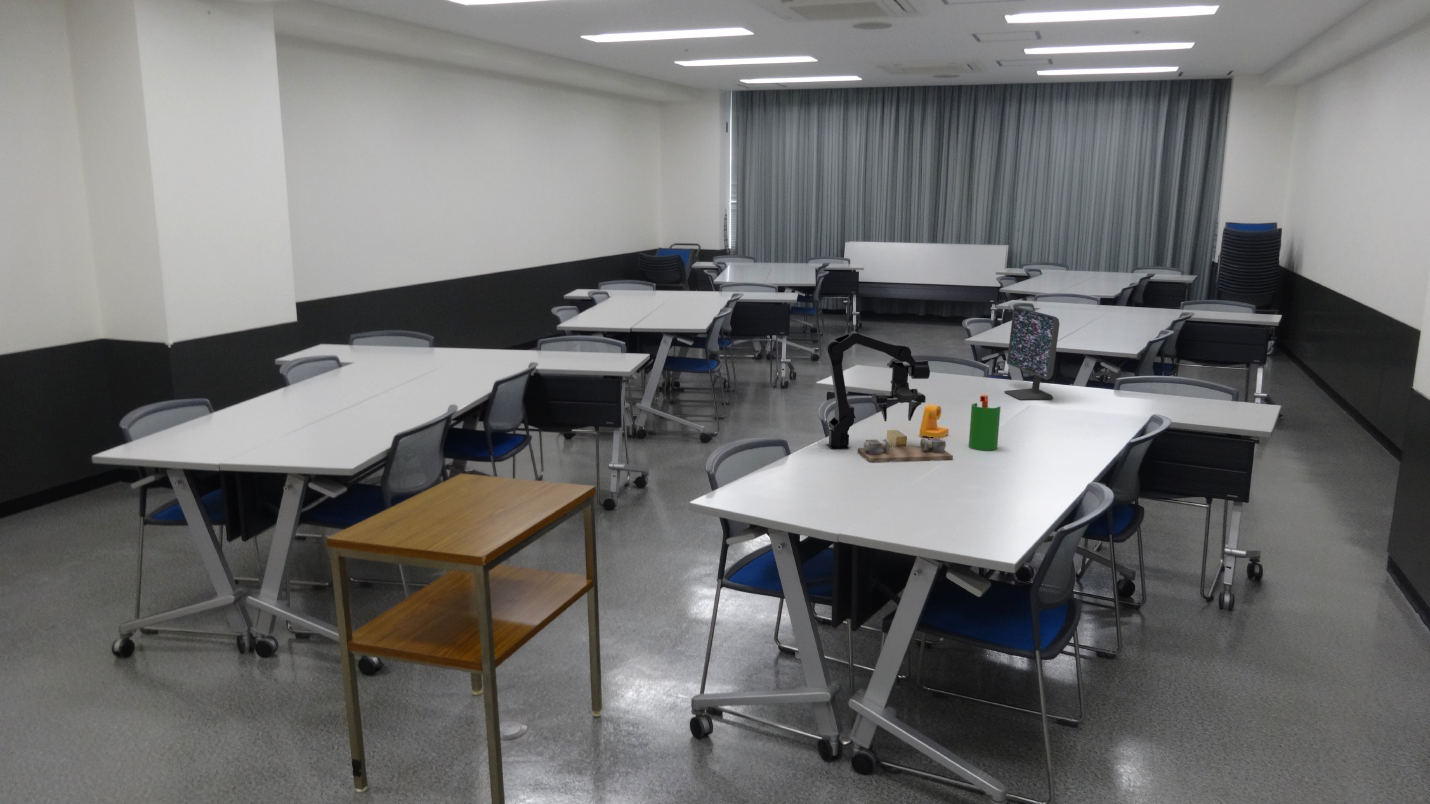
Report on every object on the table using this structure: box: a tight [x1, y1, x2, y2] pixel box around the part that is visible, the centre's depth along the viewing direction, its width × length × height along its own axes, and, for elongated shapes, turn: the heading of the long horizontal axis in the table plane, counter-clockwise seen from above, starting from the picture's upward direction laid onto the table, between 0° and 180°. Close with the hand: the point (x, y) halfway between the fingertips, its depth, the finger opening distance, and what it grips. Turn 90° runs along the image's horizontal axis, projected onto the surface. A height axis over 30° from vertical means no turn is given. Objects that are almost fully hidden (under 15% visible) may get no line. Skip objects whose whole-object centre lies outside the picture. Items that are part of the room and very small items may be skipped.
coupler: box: [886, 429, 908, 447], centre depth 349 cm, size 10×4×5 cm, turn 9°
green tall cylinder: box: [968, 394, 1001, 451], centre depth 347 cm, size 10×9×20 cm
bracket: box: [919, 404, 950, 439], centre depth 364 cm, size 11×7×12 cm, turn 142°
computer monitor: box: [1003, 305, 1060, 401], centre depth 440 cm, size 44×16×40 cm, turn 6°
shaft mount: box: [857, 437, 954, 463], centre depth 335 cm, size 30×14×6 cm, turn 99°
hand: (897, 420), depth 348 cm, fingers open, 9 cm apart
